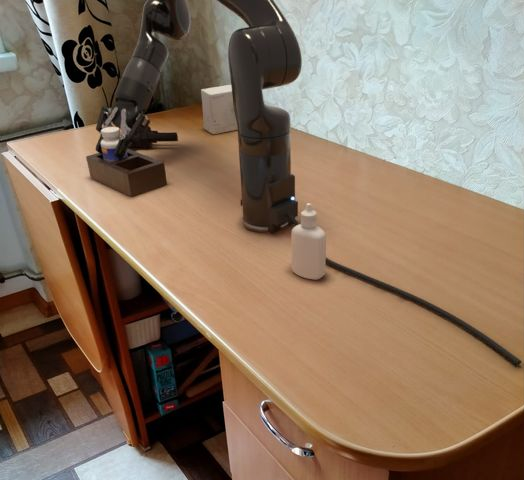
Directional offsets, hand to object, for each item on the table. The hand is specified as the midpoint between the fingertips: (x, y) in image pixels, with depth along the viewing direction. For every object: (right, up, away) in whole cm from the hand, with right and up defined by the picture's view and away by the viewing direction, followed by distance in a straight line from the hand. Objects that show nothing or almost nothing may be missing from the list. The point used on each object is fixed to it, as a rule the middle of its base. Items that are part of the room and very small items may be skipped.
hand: (108, 154), depth 128 cm
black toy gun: (+6, +9, +22) cm, 24 cm away
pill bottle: (+1, -3, +4) cm, 5 cm away
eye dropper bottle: (+42, -31, -34) cm, 62 cm away
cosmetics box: (+24, +17, +31) cm, 43 cm away
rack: (+4, -5, +2) cm, 7 cm away
